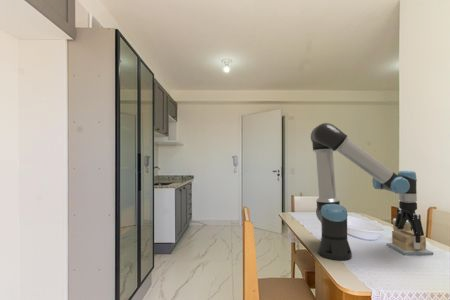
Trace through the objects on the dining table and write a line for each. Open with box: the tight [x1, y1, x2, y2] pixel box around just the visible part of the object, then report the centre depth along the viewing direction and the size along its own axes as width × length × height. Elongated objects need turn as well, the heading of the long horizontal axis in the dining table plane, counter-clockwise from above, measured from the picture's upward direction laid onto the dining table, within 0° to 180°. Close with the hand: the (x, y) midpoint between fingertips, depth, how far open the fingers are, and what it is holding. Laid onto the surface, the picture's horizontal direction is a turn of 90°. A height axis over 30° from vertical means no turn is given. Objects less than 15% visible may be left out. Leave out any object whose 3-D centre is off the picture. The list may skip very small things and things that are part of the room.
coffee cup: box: [392, 217, 413, 231], centre depth 148 cm, size 9×9×12 cm
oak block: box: [391, 230, 427, 251], centre depth 135 cm, size 10×10×7 cm
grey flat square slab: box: [385, 242, 434, 256], centre depth 135 cm, size 14×14×1 cm
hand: (408, 245), depth 135 cm, fingers closed on oak block, 10 cm apart
